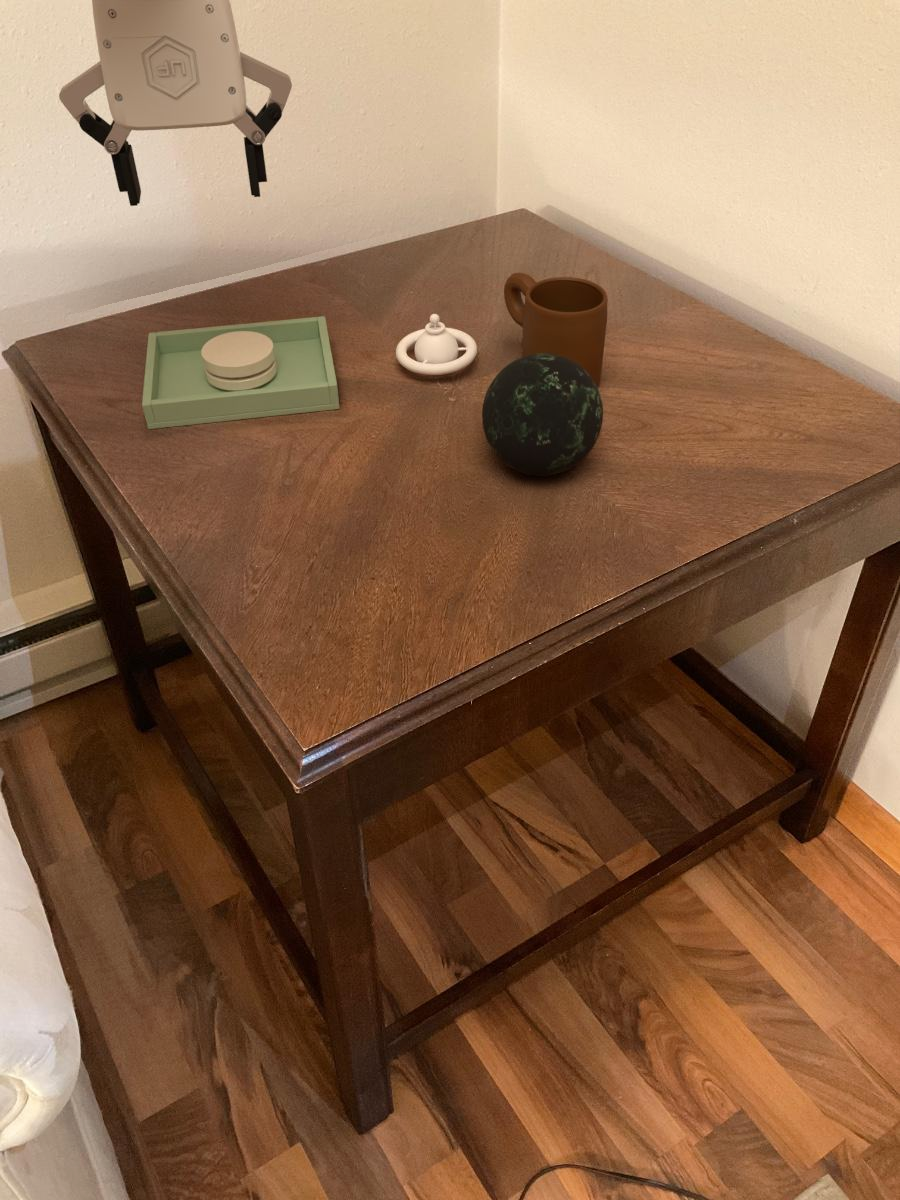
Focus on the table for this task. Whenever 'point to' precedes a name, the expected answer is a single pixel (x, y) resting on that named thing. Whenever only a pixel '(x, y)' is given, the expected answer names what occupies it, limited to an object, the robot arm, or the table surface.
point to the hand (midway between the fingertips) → (196, 195)
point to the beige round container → (239, 360)
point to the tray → (190, 399)
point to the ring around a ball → (436, 349)
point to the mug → (560, 318)
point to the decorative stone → (542, 414)
